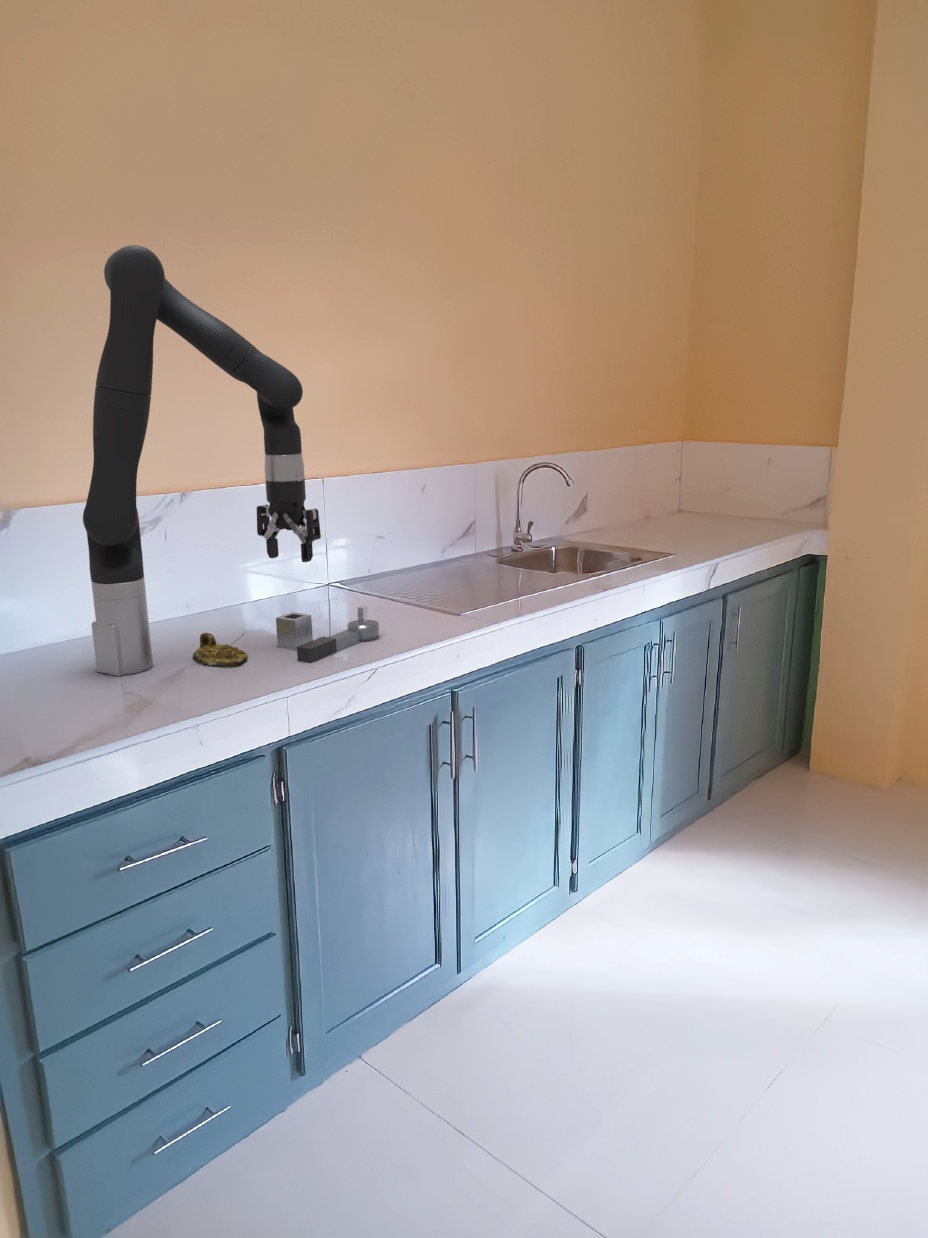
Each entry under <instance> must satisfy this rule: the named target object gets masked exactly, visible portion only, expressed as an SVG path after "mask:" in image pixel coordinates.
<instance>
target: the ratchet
mask: <svg viewBox="0 0 928 1238" xmlns="http://www.w3.org/2000/svg"><path fill="white" fill-rule="evenodd" d="M379 625H380V623H379V622H378V621H377V620H373V619H369V618H368V606H363V605H361V606H358V607H357V619H354V620H352V621H349V622H348V623H347V629H345V630H343V631H340V632H338V633H334V634H333V635H329V636H321V637H318V638H316V639H313V641H310V642H308V643H305V644H302V645H300V646H297V650H296V654H297V661H298V662H304V663H310V664H311V663H313V662H317V661H318V660H322V659H324V658H326V657H328V656H329V657H330V656H332V655H333V654H336V653H338V652H339V651H342V650H345V649H347V648H349V647H351V646H354V645H356V644H359V643H362V642H363V643H366V642H372V641H376V640H379V638H380V628H379V627H380V626H379Z"/></svg>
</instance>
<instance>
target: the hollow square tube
mask: <svg viewBox="0 0 928 1238" xmlns="http://www.w3.org/2000/svg"><path fill="white" fill-rule="evenodd" d="M275 623H276V639H277V640H276V641H277V647H280V648H285V649H290V650H294V651H295V650H296V651H297V646H300V645H302V644H305V643H308V642H310V641H313V640H314V639H313V638H314V637H313V623H312V615H311V614H306V613H299V612H293V611H292V612H289V613H286V614H283V615H280V616H278V617H277V616H276V617H275Z"/></svg>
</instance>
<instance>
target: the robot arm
mask: <svg viewBox="0 0 928 1238" xmlns="http://www.w3.org/2000/svg"><path fill="white" fill-rule="evenodd" d="M103 274H104V275H103V276H104V281H105V284H106V286H107V287H108V289H109V291H110V293H109V294H110V296H109V297H110V301H109V302H110V304H109V305H110V306H109V307H110V308H109V309H110V312H109V325H108V330H107V336H106V339H105V342H104V346H103V349H102V354H101V357H100V361H99V365H98V368H97V370H98V371H97V375H96V380H95V386H94V387H95V388H94V399H93V412H92V413H93V414H92V441H93V442H92V445H93V446H92V447H93V464H92V465H93V466H92V472H91V479H90V485H89V490H88V494H87V499H86V504H85V507H84V510H83V512H82V523H83V527H84V529H85V532H86V539H87V545H88V546H87V547H88V560H89V561H88V562H89V574H90V582H91V590H92V598H93V609H94V616H95V617H94V618H95V621H92V622H91V633H92V640H93V641H92V642H93V648H94V656H95V658H94V659H95V667H96V672H98V673H103V674H108V675H112V676H116V677H120V676H125V675H130V674H137V673H140V672H144V671H147V670H149V669H151V668H153V666H154V662H153V652H152V642H151V641H152V640H151V632H150V631H151V630H150V623H149V622H150V621H149V612H148V611H149V610H148V602H147V591H146V580H145V572H144V560H143V548H142V539H141V537H142V536H141V529H140V528H141V527H140V520H139V519H140V517H139V512H138V508H137V479H138V471H139V469H138V468H139V465H140V464H139V463H140V459H141V455H142V452H143V447H144V443H145V439H146V435H147V429H148V423H149V417H150V411H151V402H152V401H151V400H152V388H153V387H152V386H153V374H154V373H153V371H154V370H153V369H154V337H155V330H156V329H155V328H156V323H157V321H158V322H160V323H162V324H163V325H164V326H166V327H168V328H169V329H170V330H172V331H173V332H175V334H177V335H178V336H180V337H181V338H183V339H184V340H185V341H186V342H187V343H189V344H190V345H191V346H192V347H194V348H195V349H196V350H197V351H198V352H200V353H201V354H202V355H204V356H205V357H206V358H207V359H208V360H210V361H211V362H212V363H213V364H215V365H216V366H217V367H218V368H220V369H221V370H223V371H224V372H225V373H226V374H228V375H229V376H230V377H232V378H233V379H235V380H237V381H239V382H242V383H244V384H246V385H248V386H249V388H251V389H253V390H254V391H255V392H256V399H257V400H256V401H257V406H258V411H259V414H260V415H259V416H260V421H261V424H262V428H263V445H264V478H265V480H264V481H265V495H266V502H268V503H269V504H263V505H257V506H256V532H257V536H259V537H263V538H264V539H265V544H266V553H267V556H268V558H269V559H275V558H278V557H279V542H278V538H277V536H278V535H279V533H280V531H282V530H286V531H292V532H293V533H294V535H296V536H297V537H298V539H299V540H300V542H301V543H300V554H301V555H300V556H301V557H300V558H301V562H302V563H308V562H311V561H312V560H313V557H314V552H313V549H314V548H313V542H314V541H318V540H320V539H321V537H322V536H321V525H320V523H321V522H320V516H319V513H320V512H319V510H318V509H317V508H311V509H306V507H305V501H306V498H307V497H306V496H307V494H306V480H305V478H306V477H305V465H304V458H303V453H302V452H303V451H302V450H303V449H302V435H301V428H300V426H299V425H298V424H297V423H296V419H295V414H294V408H295V407H296V406H298V405H299V403H300V402H301V400H302V398H303V386H302V383H301V381H300V380H299V379H298V377H297V376H296V375H295V373H293V372H292V371H290V370H289V369H288V368H286V367H285V366H283V365H282V364H280V363H279V362H278V361H276V360H274V359H273V358H271V357H269V356H268V355H266V354H265V353H263V352H261V351H260V350H259V349H258V347H256V346H255V345H253V344H252V343H251V342H250V341H249V340H247V339H246V338H245V337H244V336H242V335H241V334H240V333H238V332H237V331H236V330H235V329H234V328H233V327H231V326H229V325H228V324H227V323H225V322H224V321H222V320H220V319H219V318H217V317H216V316H215V315H212V314H211V313H210V312H207V311H206V310H205V309H203V308H202V307H200V306H199V305H197V304H195V303H194V302H192V300H191V299H189V298H188V297H186V296H185V295H183V294H182V293H181V292H180V291H179V290H178V289H176V287H174V286H173V285H172V284H171V283H170V282H169V280H167V278H166V275H165V269H164V267H163V264H162V261H161V260H160V259H159V257H158V256H157V255H156V254H155V253H154V252H153V251H152V250H150V249H149V248H147V247H145V246H142V245H138V244H137V245H135V244H133V245H132V244H131V245H127V246H123V247H121V248H119V249H117V250H116V251H115V252H113V253H112V254H111V255H110V256H109V257H108V259H107V260H106V262H105V264H104V269H103ZM270 518H271V519H270Z"/></svg>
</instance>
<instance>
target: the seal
mask: <svg viewBox="0 0 928 1238" xmlns="http://www.w3.org/2000/svg"><path fill="white" fill-rule="evenodd" d="M199 643H200V645H199V647H198V648H197V649H196V650H195V651H194V653H192V654H193V655H192V660H193V661H195V662H197V663H198V664H199V665H202V666H205V667H211V668H235V667H239V666H241V665H243V664H244V663H245V664H246V663H247V662H248V659H249V655H248V653H247V652H246V651H244V650H243V649H239V648H238V647H237V646H231V645H229V644H219V643H217V641H216V638H215V636H214V635H213V634H212V633H209V632H203V633H201V634H200V637H199Z"/></svg>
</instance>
